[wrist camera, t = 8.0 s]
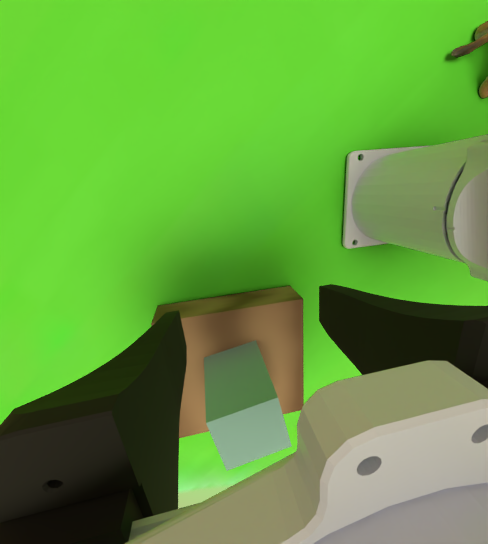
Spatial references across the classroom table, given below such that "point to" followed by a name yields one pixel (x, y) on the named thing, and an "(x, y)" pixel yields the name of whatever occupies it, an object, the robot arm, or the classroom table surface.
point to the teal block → (242, 406)
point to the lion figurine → (482, 36)
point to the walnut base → (237, 331)
